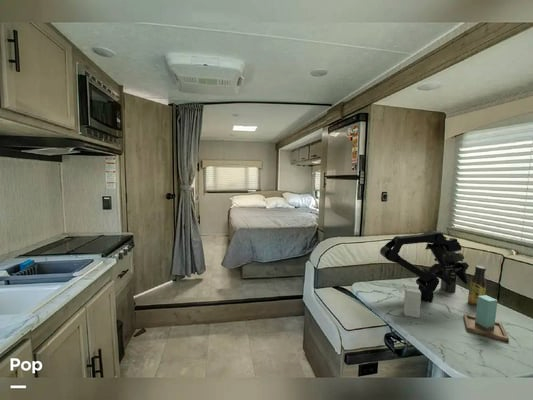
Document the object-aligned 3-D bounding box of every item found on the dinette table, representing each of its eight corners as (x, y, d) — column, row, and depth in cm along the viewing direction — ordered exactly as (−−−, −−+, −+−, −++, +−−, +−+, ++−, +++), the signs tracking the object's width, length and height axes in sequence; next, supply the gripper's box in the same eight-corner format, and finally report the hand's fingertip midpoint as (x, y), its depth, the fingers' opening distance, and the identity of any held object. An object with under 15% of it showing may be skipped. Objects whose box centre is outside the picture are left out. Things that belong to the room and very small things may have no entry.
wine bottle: (456, 292, 144) (461, 239, 141) (446, 292, 144) (451, 239, 141) (449, 288, 150) (454, 237, 147) (439, 287, 150) (444, 237, 147)
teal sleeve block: (485, 331, 107) (488, 301, 106) (474, 324, 112) (477, 296, 110) (494, 329, 108) (497, 300, 107) (483, 323, 113) (486, 295, 111)
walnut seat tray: (466, 331, 108) (467, 327, 108) (463, 317, 119) (463, 313, 119) (508, 342, 101) (509, 338, 101) (500, 326, 112) (501, 322, 112)
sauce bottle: (464, 301, 134) (468, 264, 132) (475, 301, 134) (479, 264, 133) (475, 308, 127) (479, 269, 125) (487, 307, 128) (491, 268, 126)
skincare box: (417, 313, 121) (419, 288, 120) (419, 318, 117) (421, 292, 116) (402, 311, 123) (404, 286, 122) (404, 315, 119) (406, 290, 118)
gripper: (435, 247, 123) (455, 279, 114) (467, 246, 127) (488, 276, 118) (421, 258, 132) (438, 288, 122) (451, 256, 136) (469, 285, 126)
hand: (458, 284), depth 122 cm, fingers open, 9 cm apart
